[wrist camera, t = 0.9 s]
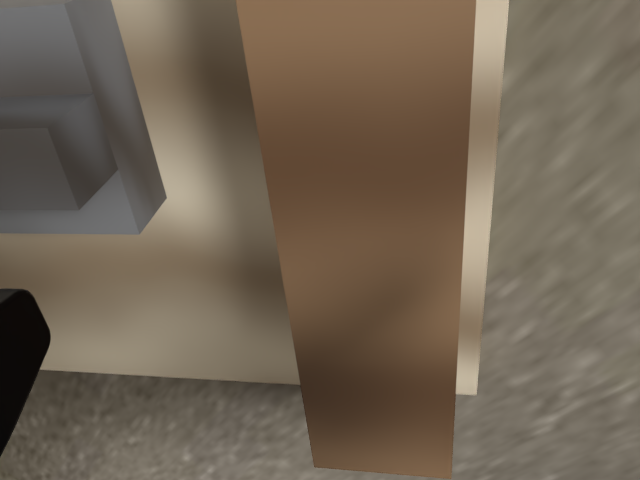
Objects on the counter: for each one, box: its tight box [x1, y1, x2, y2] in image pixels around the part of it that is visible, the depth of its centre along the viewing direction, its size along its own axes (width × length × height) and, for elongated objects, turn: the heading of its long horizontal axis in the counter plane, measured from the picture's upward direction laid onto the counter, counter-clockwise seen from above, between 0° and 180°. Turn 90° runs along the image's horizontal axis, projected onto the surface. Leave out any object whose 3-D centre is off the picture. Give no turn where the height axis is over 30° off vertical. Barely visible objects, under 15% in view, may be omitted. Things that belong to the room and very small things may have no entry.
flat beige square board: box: [0, 0, 509, 395], centre depth 14 cm, size 22×18×5 cm
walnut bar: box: [236, 0, 476, 479], centre depth 13 cm, size 20×4×4 cm, turn 6°
